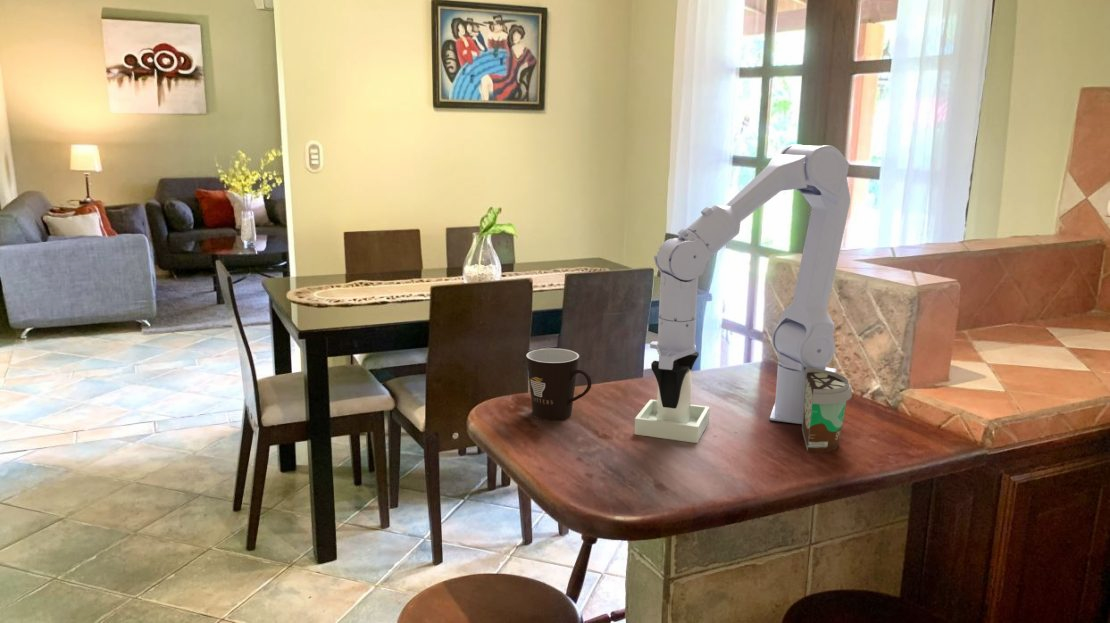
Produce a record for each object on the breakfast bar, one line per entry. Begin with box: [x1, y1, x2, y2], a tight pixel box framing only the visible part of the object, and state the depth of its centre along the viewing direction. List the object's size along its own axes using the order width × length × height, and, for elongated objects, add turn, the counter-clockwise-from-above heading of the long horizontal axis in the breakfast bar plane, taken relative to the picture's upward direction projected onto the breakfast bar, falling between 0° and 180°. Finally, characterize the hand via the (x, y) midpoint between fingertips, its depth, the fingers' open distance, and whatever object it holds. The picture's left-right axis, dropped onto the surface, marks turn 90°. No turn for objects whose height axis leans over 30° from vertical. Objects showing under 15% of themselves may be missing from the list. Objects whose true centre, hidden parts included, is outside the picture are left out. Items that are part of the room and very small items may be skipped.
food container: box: [801, 367, 853, 453], centre depth 124 cm, size 12×6×10 cm, turn 168°
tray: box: [634, 399, 711, 444], centre depth 130 cm, size 10×10×3 cm
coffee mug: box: [525, 348, 592, 421], centre depth 133 cm, size 12×9×10 cm
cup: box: [656, 369, 693, 424], centre depth 129 cm, size 5×5×8 cm
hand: (673, 401), depth 129 cm, fingers closed on cup, 5 cm apart
